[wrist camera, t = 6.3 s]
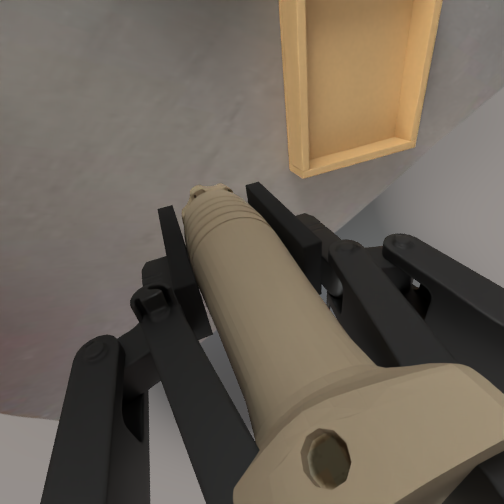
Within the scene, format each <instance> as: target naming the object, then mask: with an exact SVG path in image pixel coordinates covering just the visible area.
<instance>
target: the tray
mask: <svg viewBox="0 0 504 504" xmlns="http://www.w3.org/2000/svg"><path fill="white" fill-rule="evenodd" d="M442 1H443V0H279V15H280V31H281V46H282V61H283V76H284V92H285V107H286V122H287V137H288V153H289V168H290V171H292V172H294V173H295V174H297V175H298V176H300V177H301V178H303V179H304V178H308V177H311V176H315V175H318V174H322V173H325V172H329V171H332V170H336V169H340V168H343V167H347V166H350V165H354V164H357V163H361V162H364V161H368V160H371V159H375V158H378V157H382V156H386V155H389V154H393V153H396V152H400V151H403V150H407V149H410V148H414V147H415V144H416V139H417V134H418V129H419V123H420V118H421V113H422V107H423V102H424V97H425V91H426V86H427V81H428V75H429V70H430V65H431V59H432V54H433V49H434V43H435V38H436V33H437V27H438V22H439V17H440V12H441V6H442Z"/></svg>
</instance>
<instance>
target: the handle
mask: <svg viewBox="0 0 504 504" xmlns="http://www.w3.org/2000/svg"><path fill="white" fill-rule="evenodd" d="M182 220H183V224H184V234H185V242H186V248H187V253H188V257H189V260H190V263H191V267H192V270H193V273H194V276H195V279H196V282H197V284H198V286H199V289H200V291H201V293H202V296H203V298H204V300H205V303H206V305H207V307H208V310H209V312H210V314H211V317H212V319H213V321H214V324H215V326H216V329H217V331H218V333H219V336H220V338H221V341H222V343H223V346H224V348H225V351H226V353H227V356H228V358H229V361H230V363H231V366H232V368H233V371H234V373H235V376H236V379H237V381H238V384H239V386H240V389H241V391H242V394H243V396H244V399H245V401H246V405H247V409H248V412H249V417H250V421H251V425H252V429H253V432H254V437H255V443H256V444H257V446H258V448H259V450H260V451H259V452H258V454H257V455H256V457H255V458H254V460H253V461H252V463H251V464H250V466H249V467H248V469H247V470H246V472H245V473H244V474H243V476H242V477H241V479H240V480H239V482H238V483H237V484H236V486H235V487H234V490H233V503H234V504H442V503H443V501H444V500H445V499H446V498H447V497H448V496H449V495H450V494H451V492H452V491H453V490H454V489H455V488H456V487H457V486H458V485H459V484H460V483H461V482H462V481H463V479H464V478H465V477H466V476H467V475H468V474H469V473H470V472H471V471H472V470H473V469H474V468H475V467H476V466H477V465H478V464H480V463H482V462H483V461H485V460H487V459H489V458H491V457H493V456H495V455H497V454H499V453H501V452H503V451H504V394H503V393H502V392H501V391H500V390H499V389H497V388H496V387H495V386H494V385H493V384H492V383H490V382H489V381H488V380H487V379H486V378H484V377H483V376H482V375H481V374H479V373H478V372H477V371H475V370H474V369H472V368H470V367H469V366H465V365H462V364H452V363H427V364H420V365H413V366H406V367H392V368H384V367H379V366H377V365H376V364H375V363H374V362H373V361H372V360H371V359H370V358H369V357H368V356H367V355H366V354H365V353H364V352H363V351H362V350H361V349H360V348H359V347H358V346H357V345H356V344H355V343H354V341H353V340H352V339H351V338H350V337H349V335H348V334H347V333H346V331H345V330H344V329H343V327H342V326H341V325H340V323H339V322H338V320H337V319H336V318H335V316H334V315H333V314H332V312H331V311H330V309H329V308H328V307H327V305H326V304H325V303H324V301H323V300H322V298H321V297H320V296H319V294H318V293H317V292H316V290H315V289H314V287H313V286H312V285H311V283H310V282H309V280H308V279H307V277H306V276H305V275H304V273H303V272H302V270H301V269H300V267H299V266H298V264H297V263H296V261H295V260H294V259H293V257H292V256H291V254H290V253H289V251H288V250H287V248H286V247H285V245H284V244H283V243H282V241H281V240H280V238H279V237H278V235H277V234H276V233H275V231H274V230H273V229H272V228H271V226H270V225H269V224H268V223H267V222H266V220H265V219H264V218H263V217H262V216H261V215H260V214H259V213H258V212H257V211H256V210H255V209H254V208H253V207H251V206H250V205H249V204H248V203H247V202H246V201H244V200H243V199H242V198H240V197H238V196H237V195H235V194H233V191H232V190H231V189H230V188H229V187H227V186H225V185H223V184H221V183H219V184H217V185H215V186H210V187H206V186H201V185H196V186H195V187H193V188H192V189H191V190H190V198H189V201H188V203H187V205H186V206H185V207H184V208H183V209H182Z"/></svg>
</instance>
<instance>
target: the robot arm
mask: <svg viewBox="0 0 504 504" xmlns="http://www.w3.org/2000/svg"><path fill="white" fill-rule="evenodd" d="M246 191H247V198H248V204H249V205H250V206H251V207H253V208H254V209H255V210H256V211H257V212H258V213H259V214H260V215H261V216H262V217H263V218H264V219H265V220H266V222H267V223H268V224H269V225H270V226H271V228H272V229H273V230H274V231H275V233H276V234H277V235H278V237H279V238H280V240H281V241H282V243H283V244H284V245H285V247H286V248H287V250H288V251H289V253H290V254H291V256H292V257H293V259H294V260H295V261H296V263H297V264H298V266H299V267H300V269H301V270H302V272H303V273H304V275H305V276H306V277H307V279H308V280H309V282H310V283H311V285H312V286H313V287H314V289H315V290H316V292H317V293H318V294H319V295H320V294H321V284H322V285H323V286H324V287H325V288H326V289H327V307H328V308H329V309H330V306H331V308H332V310H333V312H334V314H335V316H336V318H337V320H338V322H339V323H340V325H341V326H342V327H343V329H344V330H345V331H346V333H347V334H348V335H349V337H350V338H351V339H352V340H353V341H354V343H355V344H356V345H357V346H358V347H359V348H360V349H361V350H362V351H363V352H364V353H365V354H366V355H367V356H368V357H369V358H370V359H371V360H372V361H373V362H374V363H375V364H376V365H377V366H379V367H384V368H392V367H406V366H413V365H420V364H427V363H452V364H462V365H465V366H469V367H470V368H472V369H474V370H475V371H477V372H478V373H479V374H481V375H482V376H483V377H484V378H486V379H487V380H488V381H489V382H490V383H492V384H493V385H494V386H495V387H496V388H497V389H499V390H500V391H501V392H502V393H503V394H504V288H502V287H501V286H499V285H497V284H495V283H494V282H492V281H490V280H489V279H487V278H485V277H483V276H481V275H480V274H478V273H476V272H474V271H473V270H471V269H469V268H468V267H466V266H464V265H462V264H461V263H459V262H457V261H456V260H454V259H452V258H450V257H449V256H447V255H445V254H443V253H442V252H440V251H438V250H437V249H435V248H433V247H431V246H430V245H428V244H426V243H424V242H423V241H421V240H419V239H418V238H416V237H413V236H411V235H406V234H392V235H389V236H387V237H386V238H385V240H384V242H383V246H378V247H369V248H364V247H363V246H362V245H361V244H359V243H358V242H355V241H352V240H341V239H340V238H339V237H338V236H337V235H335V234H334V233H333V232H332V231H331V230H329V229H328V228H327V227H325V225H323V224H322V223H320V221H319V220H317V219H316V218H315V217H314V216H311V215H308V214H306V213H304V214H301V215H297V216H295V215H294V214H293V213H292V212H290V211H289V210H288V209H287V208H286V207H285V206H284V205H283V204H282V203H281V202H280V201H279V200H278V199H277V198H275V197H274V196H273V195H272V194H271V193H270V192H269V191H268V190H267V189H266V188H265V187H264V186H263V185H262V184H260V183H259V182H256V183H252V184H249V185H246ZM158 214H159V219H160V224H161V230H162V235H163V240H164V245H165V250H166V255H167V256H165V257H162V258H159V259H155V260H152V261H149V262H146V263H145V265H144V267H143V269H142V284H143V287H142V288H140V289H139V290H138V291H137V292H135V293H134V294H133V296H132V298H131V300H130V306H131V308H132V310H133V312H134V313H135V315H136V317H137V319H138V321H139V323H138V324H137V325H136V326H135V327H134V328H133V329H132V330H130V331H129V332H127V333H126V334H124V335H122V336H121V337H119V338H118V339H116V338H115V337H114V336H111V335H102V336H98V337H96V338H94V339H92V340H90V341H88V342H87V343H86V344H84V345H83V346H82V347H81V348H80V350H79V351H78V352H77V353H76V356H75V358H74V360H73V364H72V368H71V373H70V377H69V381H68V386H67V390H66V394H65V399H64V403H63V407H62V412H61V416H60V420H59V425H58V429H57V433H56V438H55V442H54V446H53V451H52V455H51V460H50V464H49V468H48V472H47V477H46V481H45V485H44V490H43V494H42V498H41V503H40V504H150V467H149V466H150V464H149V463H150V462H149V405H148V404H149V401H148V390H149V389H150V388H151V387H153V386H154V385H155V384H157V383H158V382H159V381H161V382H162V384H163V387H164V390H165V393H166V395H167V398H168V401H169V403H170V406H171V409H172V411H173V415H174V417H175V420H176V423H177V425H178V428H179V431H180V433H181V436H182V439H183V442H184V444H185V447H186V450H187V452H188V455H189V458H190V461H191V463H192V466H193V469H194V472H195V474H196V477H197V480H198V482H199V485H200V488H201V491H202V493H203V496H204V499H205V501H206V504H234V503H233V490H234V487H235V486H236V484H237V483H238V482H239V480H240V479H241V477H242V476H243V474H244V473H245V472H246V470H247V469H248V467H249V466H250V464H251V463H252V461H253V460H254V458H255V457H256V455H257V454H258V452H259V451H260V450H259V448H258V446H257V444H256V443H255V441H254V439H253V438H252V435H251V434H250V432H249V430H248V428H247V427H246V425H245V423H244V421H243V419H242V418H241V416H240V414H239V413H238V411H237V409H236V407H235V405H234V404H233V402H232V400H231V398H230V397H229V395H228V393H227V391H226V389H225V388H224V386H223V384H222V382H221V381H220V379H219V377H218V375H217V373H216V372H215V370H214V368H213V366H212V364H211V363H210V361H209V359H208V357H207V356H206V354H205V352H204V350H203V348H202V347H201V345H200V343H199V341H198V340H200V339H202V338H205V337H208V336H210V335H213V333H212V330H211V326H210V323H209V320H208V317H207V313H206V310H205V307H204V304H203V300H202V297H201V294H200V291H199V287H198V284H197V282H196V279H195V276H194V273H193V270H192V267H191V263H190V260H189V257H188V253H187V248H186V245H185V242H184V239H183V236H182V233H181V230H180V227H179V224H178V221H177V218H176V215H175V212H174V209H173V206H172V205H171V206H167V207H163V208H160V209H158ZM413 279H415V280H417V281H418V282H419V283H421V284H420V287H419V288H418V287H416V286H414V285H413V284H412V283H413ZM442 504H504V451H503V452H501V453H499V454H497V455H495V456H493V457H491V458H489V459H487V460H485V461H483V462H482V463H480V464H478V465H477V466H476V467H475V468H474V469H473V470H472V471H471V472H470V473H469V474H468V475H467V476H466V477H465V478H464V479H463V481H462V482H461V483H460V484H459V485H458V486H457V487H456V488H455V489H454V490H453V491H452V492H451V494H450V495H449V496H448V497H447V498H446V499H445V500H444V501H443V503H442Z"/></svg>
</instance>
